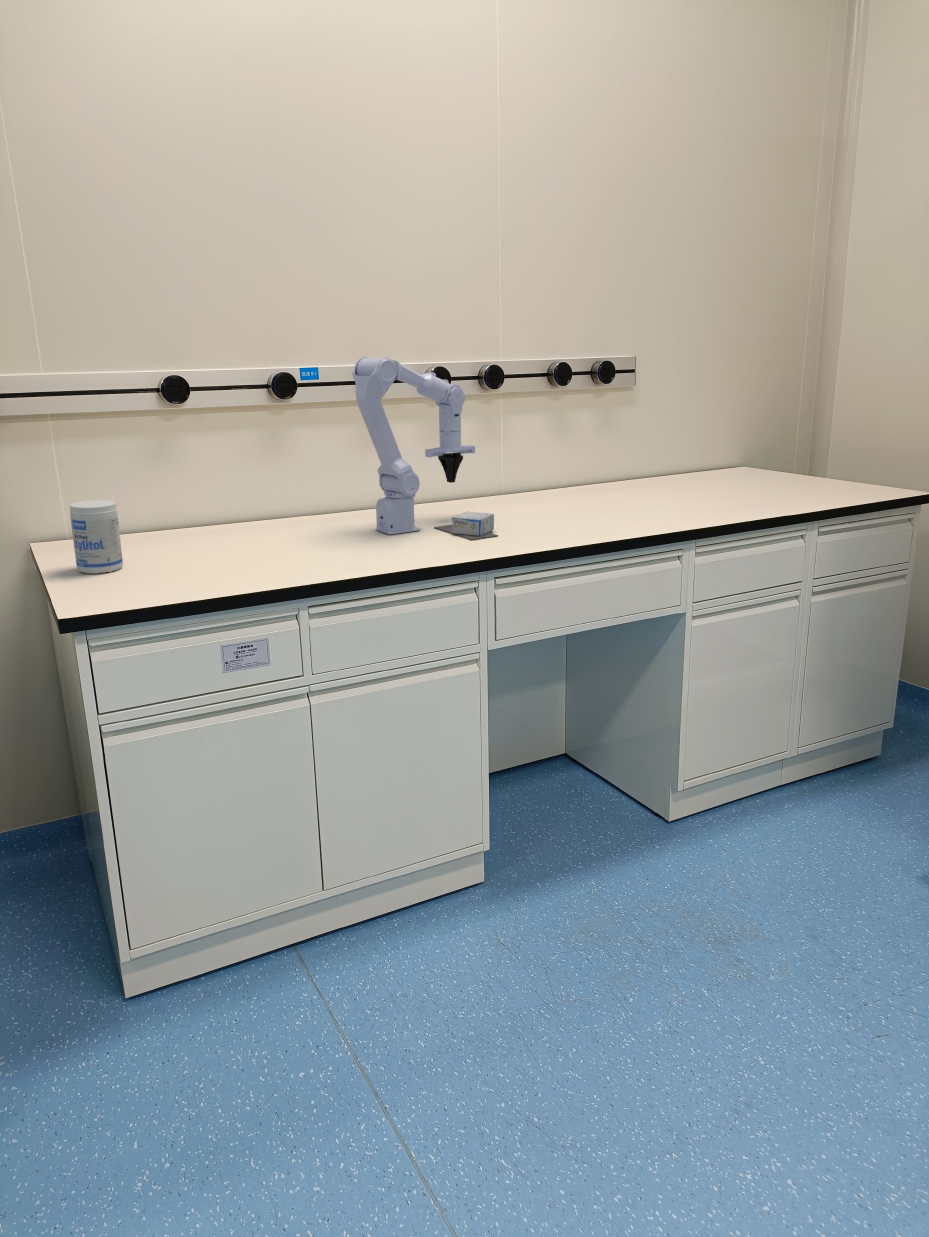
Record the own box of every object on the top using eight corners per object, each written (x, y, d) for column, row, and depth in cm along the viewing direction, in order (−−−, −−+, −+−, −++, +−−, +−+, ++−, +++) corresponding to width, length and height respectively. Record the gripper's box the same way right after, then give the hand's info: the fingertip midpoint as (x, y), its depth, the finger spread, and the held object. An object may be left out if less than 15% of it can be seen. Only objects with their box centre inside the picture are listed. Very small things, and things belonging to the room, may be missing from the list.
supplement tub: (73, 576, 192) (63, 508, 188) (82, 565, 201) (72, 500, 197) (120, 573, 194) (111, 506, 190) (127, 562, 203) (119, 498, 198)
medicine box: (467, 527, 234) (451, 534, 227) (467, 510, 233) (451, 516, 226) (494, 530, 231) (479, 537, 223) (494, 513, 229) (479, 519, 222)
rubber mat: (471, 540, 221) (471, 539, 221) (433, 528, 235) (433, 527, 235) (498, 536, 225) (498, 535, 225) (459, 524, 239) (459, 523, 239)
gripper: (434, 434, 231) (435, 486, 235) (481, 430, 238) (481, 481, 242) (420, 431, 237) (422, 483, 241) (467, 428, 244) (467, 477, 248)
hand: (451, 482), depth 242 cm, fingers closed
